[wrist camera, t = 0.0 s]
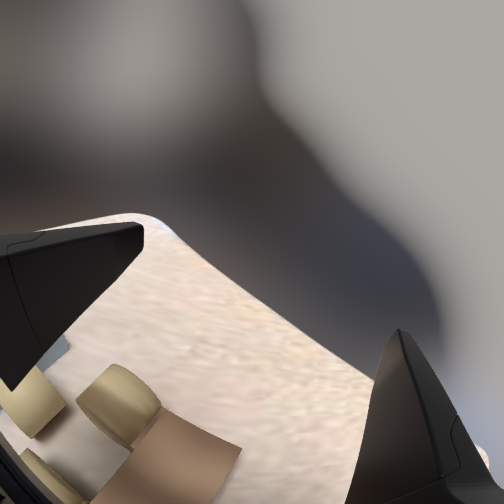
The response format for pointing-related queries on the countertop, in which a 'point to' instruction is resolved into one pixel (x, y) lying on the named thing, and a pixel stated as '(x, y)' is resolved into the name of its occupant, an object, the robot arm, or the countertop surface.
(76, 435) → the countertop surface
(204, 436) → the wooden tray with rolls
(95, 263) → the robot arm
